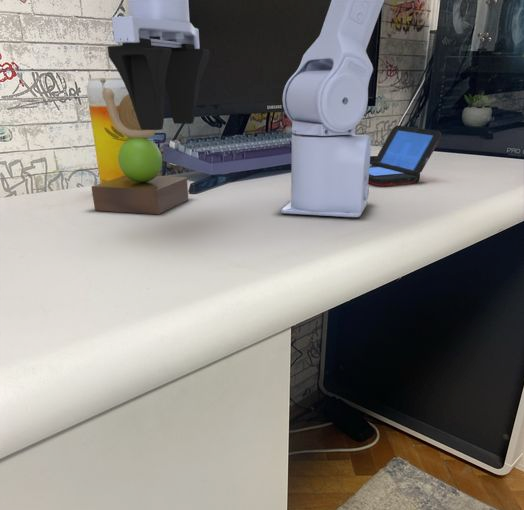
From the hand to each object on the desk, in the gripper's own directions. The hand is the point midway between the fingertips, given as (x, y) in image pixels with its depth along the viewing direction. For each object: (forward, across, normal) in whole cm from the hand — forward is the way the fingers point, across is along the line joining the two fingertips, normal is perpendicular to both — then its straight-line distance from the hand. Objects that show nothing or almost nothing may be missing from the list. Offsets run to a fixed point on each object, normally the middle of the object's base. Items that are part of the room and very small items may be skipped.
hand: (168, 126), depth 56 cm
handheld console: (+11, -37, +20) cm, 43 cm away
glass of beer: (+11, -16, -16) cm, 25 cm away
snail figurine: (+8, -9, -9) cm, 15 cm away
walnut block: (+10, -9, -9) cm, 16 cm away
